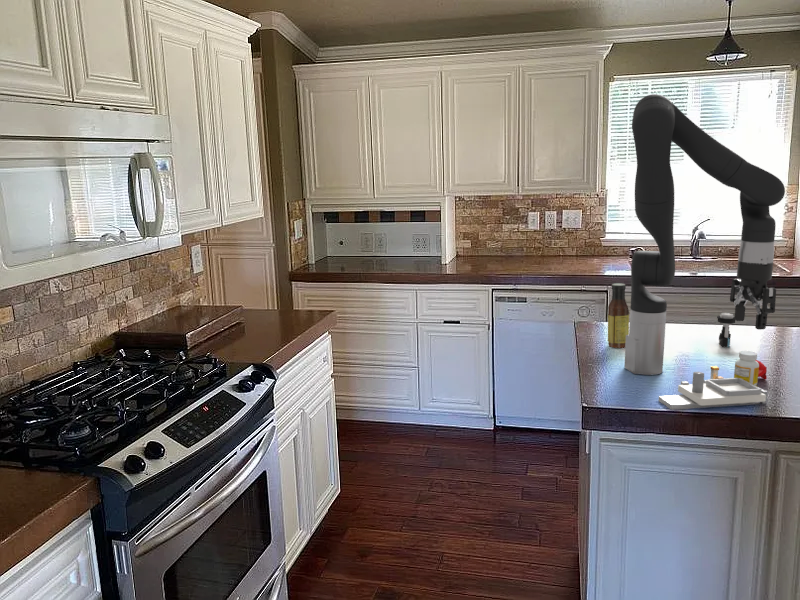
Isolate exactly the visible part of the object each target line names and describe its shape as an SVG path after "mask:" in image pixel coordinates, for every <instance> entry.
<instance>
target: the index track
mask: <svg viewBox="0 0 800 600" xmlns="http://www.w3.org/2000/svg"><path fill="white" fill-rule="evenodd" d="M719 371H720V367H719V366H717V365H713V366H712V365H711V366H710V377H709V379H715V377H716V376H719ZM761 389H762V390H761V393H763V394H765V395H766V400H765V402H750V403H735V404H719V405H703V406H701V405H699V404H697V403H696V402H694V401H693V400H691V399H690V398H688V397H686V396H685V395H683V394H677V395H676V394H673V395H659V396H658V402H659V403H661V405H664V406H665V407H667V408H668V409H669V410H671V411H675V410H689V409H690V410H691V409H705V408H708V409H709V408H720V407H721V408H722V407H736V406H750V405H751V406H753V405H754V406H755V405H760V404H762V405H766V404H767V403H768V402H767V399H768V391H767V390H766V389H763V388H761Z"/></svg>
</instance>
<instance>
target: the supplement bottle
mask: <svg viewBox="0 0 800 600" xmlns="http://www.w3.org/2000/svg"><path fill="white" fill-rule="evenodd" d="M755 360H758V353H756V352H755V351H752V350H751V351H750V350H741V351H739V352H738V359H737V360H736V361H735V362H734V372H733V378H741V379H743V380H745V381H747V382H749V383H751V384H753V385H755V386H757V387H758V383H757V382H759V379H758V378H759V377H758V372H759V363H758V362H757V361H755Z"/></svg>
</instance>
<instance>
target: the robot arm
mask: <svg viewBox="0 0 800 600" xmlns="http://www.w3.org/2000/svg"><path fill="white" fill-rule="evenodd" d="M633 109H634V110H633V114H632V119H631V120H632V121H631V123H632V124H631V129H632V135H633V141H634V146H635V153H636V171H635V182H634V211H635V215H636V217H637V219H638V220H639V222H640V223H641V225H642V226H643V227H644V229H645V230H646V231H647V232H648V233H649V234H650V236H651V237H652V238H653V239H654V241H655V243H656V245H657V248H658V250H659V251H658V250H657V251H656V250H637V251H635V252H634V253H633V255H632V258H631V262H630V263H631V264H630V268H631V269H630V275H631V276H630V279H631V280H630V281H631V283H630V286H631V287H630V306H629V307H630V308H629V309H630V311H629V335H626V344H625V348H624V364H623V365H624V367H623V368H624V369H626V370H628V371H629V372H630V373H632V374H634V375H644V376H646V375H647V376H648V375H649V376H651V375H652V376H653V375H660V374H661V373H663V372H664V371H663V370H664V354H665V339H666V324H667V323H666V320H667V308H668V307H667V306H668V305H667V304H668V303H667V301H666V299H664V298H663V297H660V296H658V295H657V294H654V293H652V292H650V291H649V290H648V289H647V288H646V287H645V286H652V287H653V286H655V287H657V286H658V287H668V286H670V285H672V283H673V282H674V279H675V277H676V276H675V274H676V257H675V256H676V255H675V241H674V218H675V217H674V216H675V215H674V214H675V182H674V177H673V172H672V167H671V152H672V144H673V143H674V144H675V145H676V146H678V148H680V149H681V150H682V151H683V152H684V153H685V154H686V155H687V156H688V157H689V158H690V159H691V160H692V161H693V162H694V164H696V165H697V166H698V167H699V168H700V169H701V170H702V171H703V172H705V173H706V174H707V175H708V176H711V177H712V178H713V179H715V180H716V181H718V182H719V183H721V184H722V185H724V186H726V187H729V188H733V189H735V190H738V191H739V192H740V193H739V203H740V204H739V206H740V214H741V219H742V229H741V238H740V244H739V249H738V250H739V251H738V259H737V268H736V270H737V271H736V278H733V279H732V280H731V287H730V296H729V302H731V303H733V305H734V306H735V307H734V317H735V318H734V319H735V322H736V321H737V322H743V321H744V320H745V318H746V317H745V316H746V305H747V304H748V302H751V304H752V306H753V307H755V310H756V315H755V317H756V318H755V325H754V326H755V329H756V330H766V327H767V322H768V315H769V314H774V313H775V311H776V302H777V301H776V296H777V289H776V288H775V287H768V285H767V284H768V283H767V282H769V281H770V280H772V278H773V271H774V270H773V268H774V260H775V259H774V258H775V236H776V234H775V233H776V219H774V217H772V216H771V214H770V207H773V206H775V205H777V204H778V203H781V201H782V200H783V198H784V197H785V193H786V189H785V185H784V183H783V181H782V180H781V179H780V178H779V177H778V176H776V175H774V174H773V173H771V172H769V171H767V170H765V169H763V168H761V167H759V166H757V165H755V164H753V163H750V162H749V161H747V160H746V159H745V158H743V157H742V156H740V155H739V154H738V153H736V152H735V151H733V150H731V149H730V148H728V147H726V145H724V144H722V143H721V142H719V141H718V140H716V139H715V138H714V137H712V136H711V135H710V134H709V133H708V132H706V131H704V130H703V129H702V128H700V126H698V125H697V124H696V123H694V122H693V121H692V120H691V119H690V118H689V117H688V116H687V115H685V113H684V112H682V111H681V110H680V109H679V107H677V106H676V104H674V103H673V102H672V101H671V100H670V99H668V97H666V96H665V95H662V94H657V93H654V94H653V93H651V94H647V95H646V96H643V97H642V98H641V99H639V100H638V102H637V103H636V104H635V107H634V108H633Z"/></svg>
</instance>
